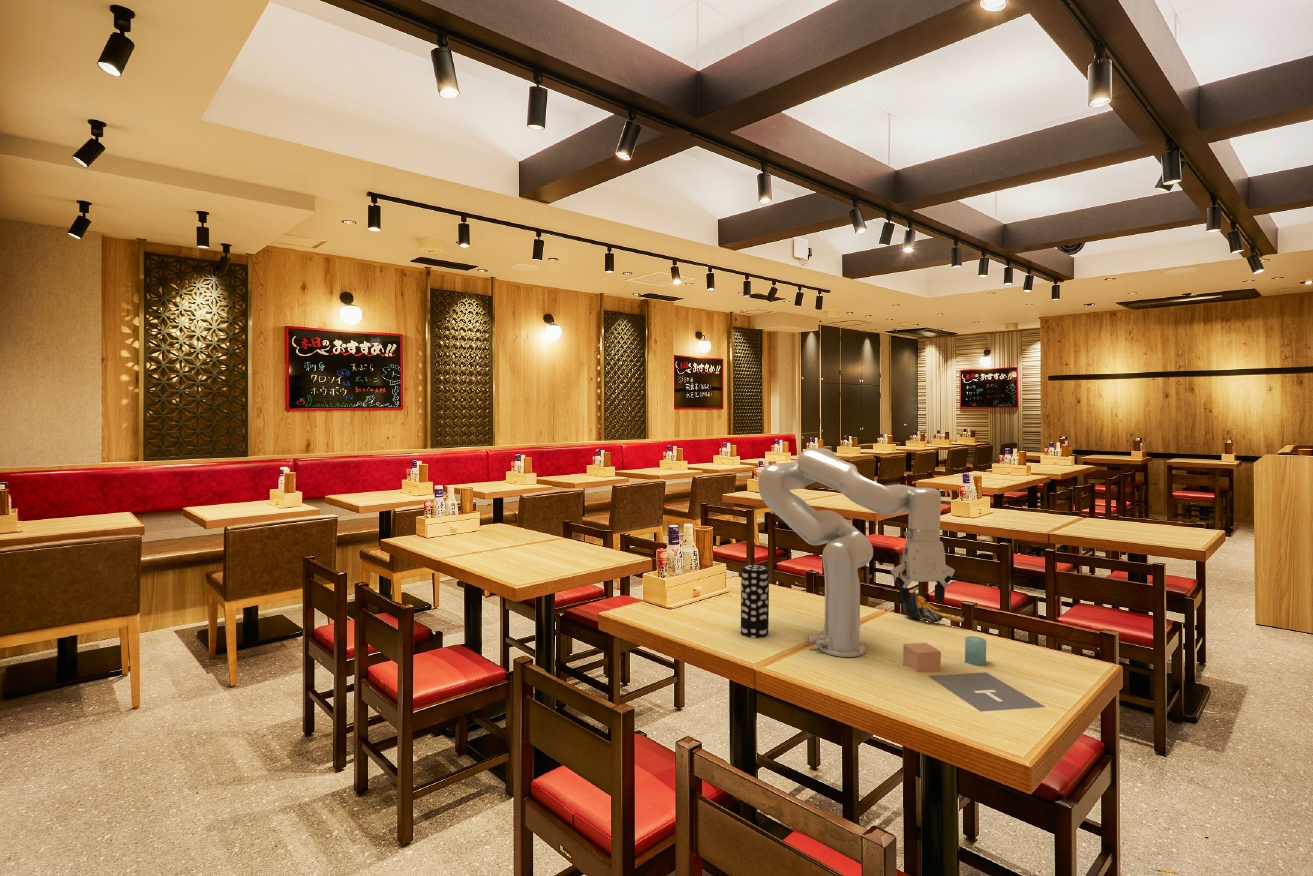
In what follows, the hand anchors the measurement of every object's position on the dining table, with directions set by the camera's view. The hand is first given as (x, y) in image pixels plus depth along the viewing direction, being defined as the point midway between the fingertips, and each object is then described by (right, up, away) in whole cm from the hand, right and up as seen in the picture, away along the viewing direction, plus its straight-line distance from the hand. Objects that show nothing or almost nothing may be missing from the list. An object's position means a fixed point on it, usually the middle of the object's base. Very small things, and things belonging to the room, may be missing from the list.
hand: (921, 601), depth 166 cm
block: (0, -18, 0) cm, 18 cm away
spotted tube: (-39, -17, +28) cm, 51 cm away
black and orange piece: (+20, -17, +41) cm, 49 cm away
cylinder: (+16, -18, +4) cm, 24 cm away
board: (+9, -18, -15) cm, 25 cm away
